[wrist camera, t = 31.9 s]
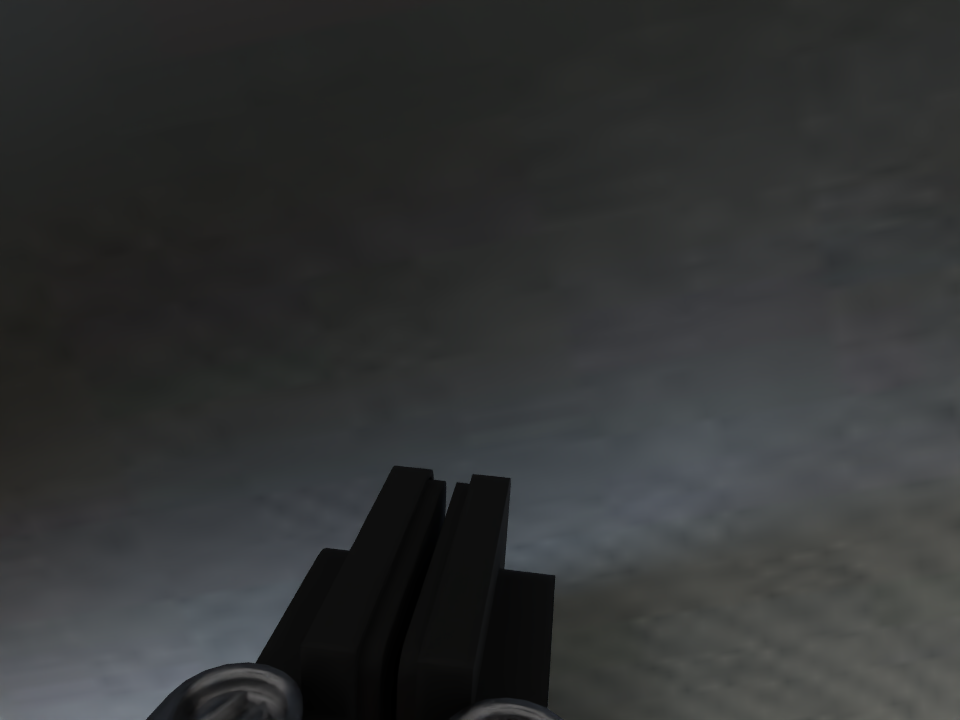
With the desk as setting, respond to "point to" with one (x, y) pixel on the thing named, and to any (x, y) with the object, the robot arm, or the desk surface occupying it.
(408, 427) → the desk surface
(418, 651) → the robot arm
